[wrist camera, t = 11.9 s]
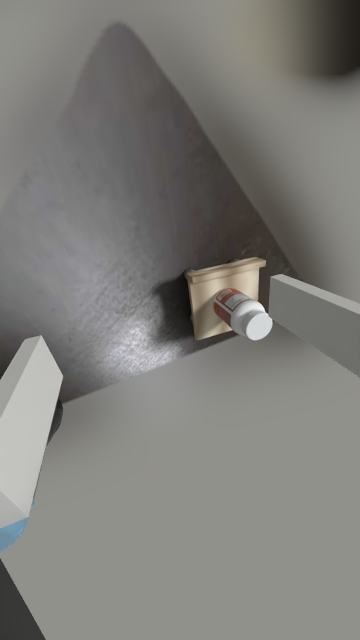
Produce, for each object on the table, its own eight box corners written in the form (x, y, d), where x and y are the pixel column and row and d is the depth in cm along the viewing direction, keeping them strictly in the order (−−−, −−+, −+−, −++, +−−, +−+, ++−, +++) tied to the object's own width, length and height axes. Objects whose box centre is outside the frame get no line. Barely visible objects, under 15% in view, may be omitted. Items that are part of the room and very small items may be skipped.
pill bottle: (232, 318, 46) (266, 347, 37) (207, 313, 44) (235, 342, 34) (244, 290, 44) (283, 312, 35) (218, 283, 42) (252, 305, 32)
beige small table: (187, 326, 51) (200, 345, 44) (178, 266, 45) (192, 277, 38) (242, 311, 54) (262, 326, 47) (241, 252, 47) (265, 260, 40)
